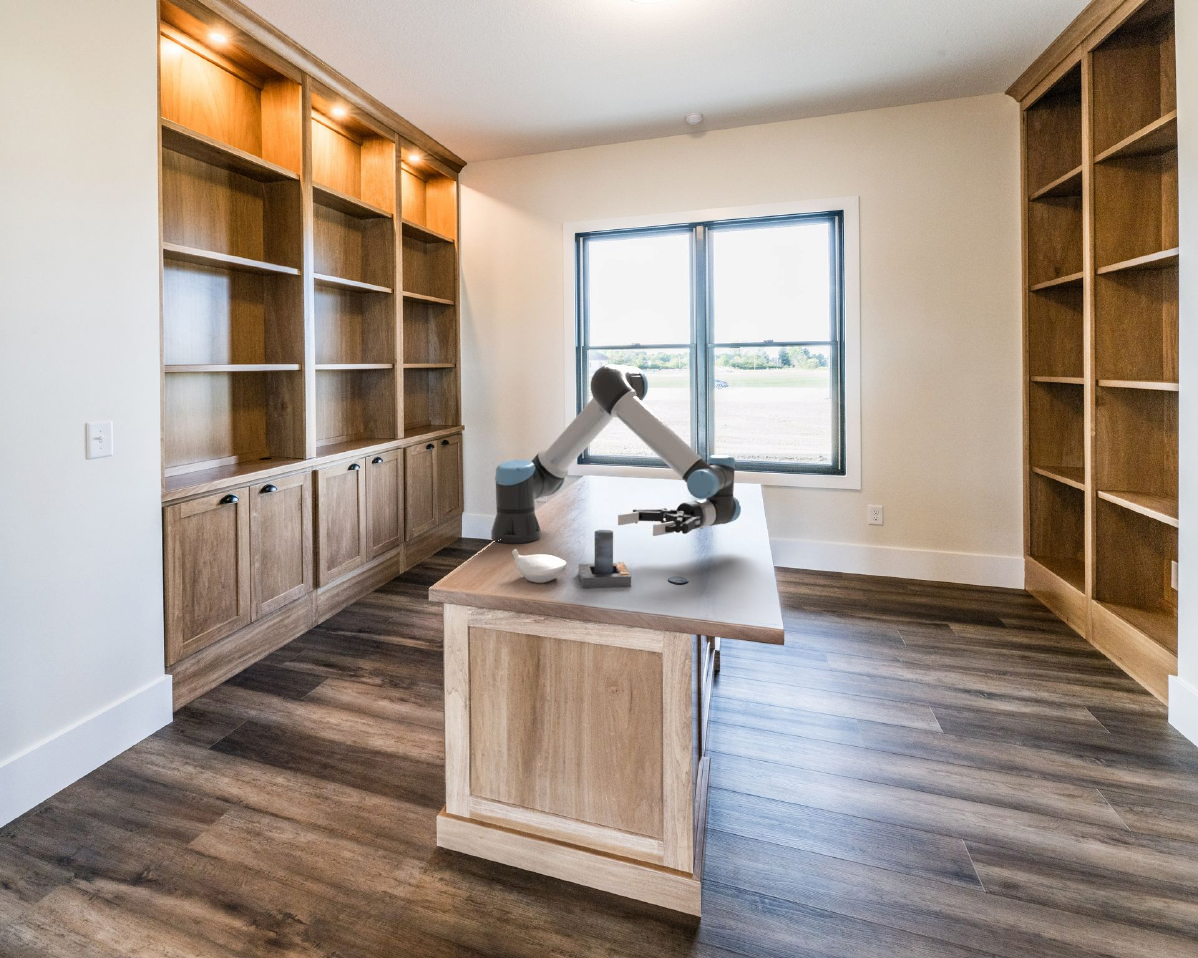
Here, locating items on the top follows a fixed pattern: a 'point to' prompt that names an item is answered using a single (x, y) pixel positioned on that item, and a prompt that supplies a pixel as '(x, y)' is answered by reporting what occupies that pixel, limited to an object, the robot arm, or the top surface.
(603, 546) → the peg
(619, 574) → the socket block
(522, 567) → the driver head
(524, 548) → the top surface
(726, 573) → the top surface
